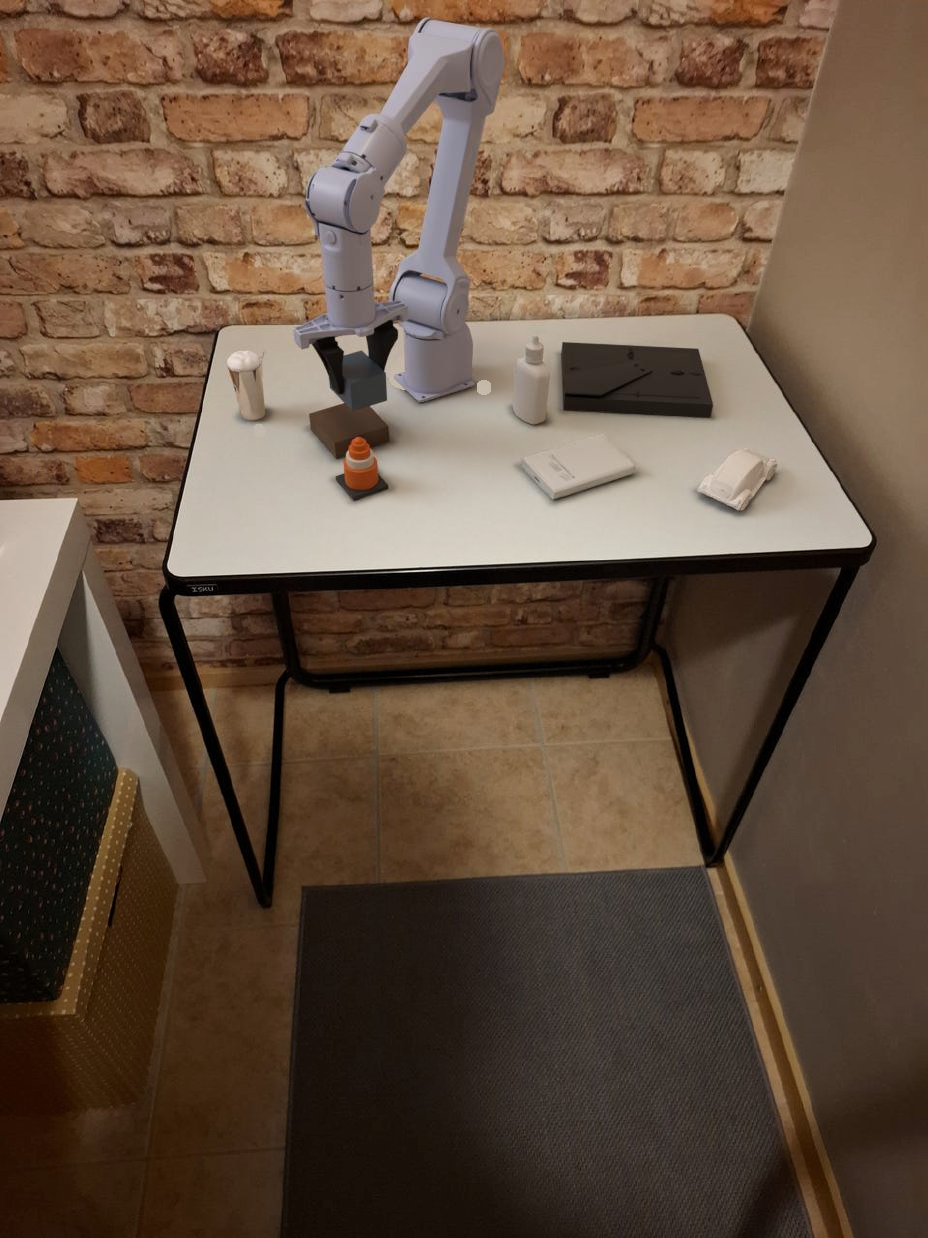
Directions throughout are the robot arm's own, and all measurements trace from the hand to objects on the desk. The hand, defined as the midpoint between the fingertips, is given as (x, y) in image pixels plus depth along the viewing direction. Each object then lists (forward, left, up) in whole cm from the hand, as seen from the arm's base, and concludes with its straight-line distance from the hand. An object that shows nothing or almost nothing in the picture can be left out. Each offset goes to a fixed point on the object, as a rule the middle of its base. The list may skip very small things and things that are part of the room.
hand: (357, 384), depth 109 cm
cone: (+4, +9, -8) cm, 13 cm away
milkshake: (+10, -13, -9) cm, 18 cm away
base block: (+1, -2, -8) cm, 9 cm away
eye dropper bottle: (-23, +6, -9) cm, 25 cm away
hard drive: (-21, +20, -9) cm, 31 cm away
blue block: (0, 0, -1) cm, 1 cm away
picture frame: (-41, +7, -9) cm, 43 cm away
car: (-37, +33, -9) cm, 51 cm away
